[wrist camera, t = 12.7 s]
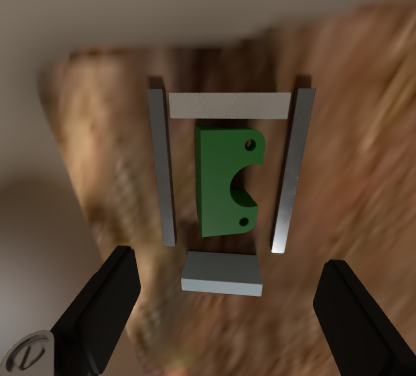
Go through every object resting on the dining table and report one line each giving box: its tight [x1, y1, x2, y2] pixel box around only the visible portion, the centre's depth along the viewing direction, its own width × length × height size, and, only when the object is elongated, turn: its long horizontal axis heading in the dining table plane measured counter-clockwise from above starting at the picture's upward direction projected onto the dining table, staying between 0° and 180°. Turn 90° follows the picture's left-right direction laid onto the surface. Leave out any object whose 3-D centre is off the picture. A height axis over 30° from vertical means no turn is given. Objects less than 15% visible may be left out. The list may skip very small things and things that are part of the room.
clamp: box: [195, 125, 265, 237], centre depth 22 cm, size 12×6×9 cm, turn 174°
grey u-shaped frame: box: [147, 88, 316, 253], centre depth 22 cm, size 17×20×5 cm
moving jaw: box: [181, 251, 263, 296], centre depth 27 cm, size 10×2×5 cm, turn 90°
